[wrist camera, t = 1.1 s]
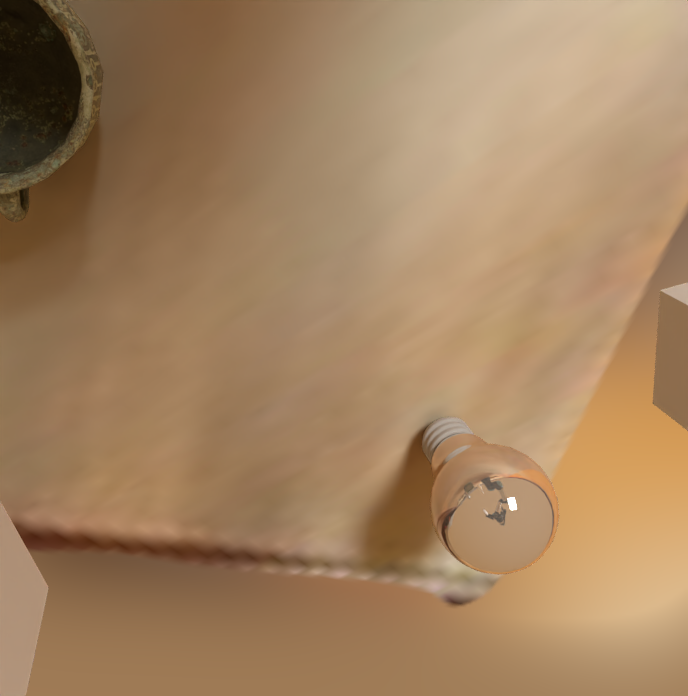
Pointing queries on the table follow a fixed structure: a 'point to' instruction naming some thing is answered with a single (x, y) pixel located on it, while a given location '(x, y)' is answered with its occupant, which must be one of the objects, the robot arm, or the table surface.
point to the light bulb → (488, 500)
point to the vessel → (42, 94)
